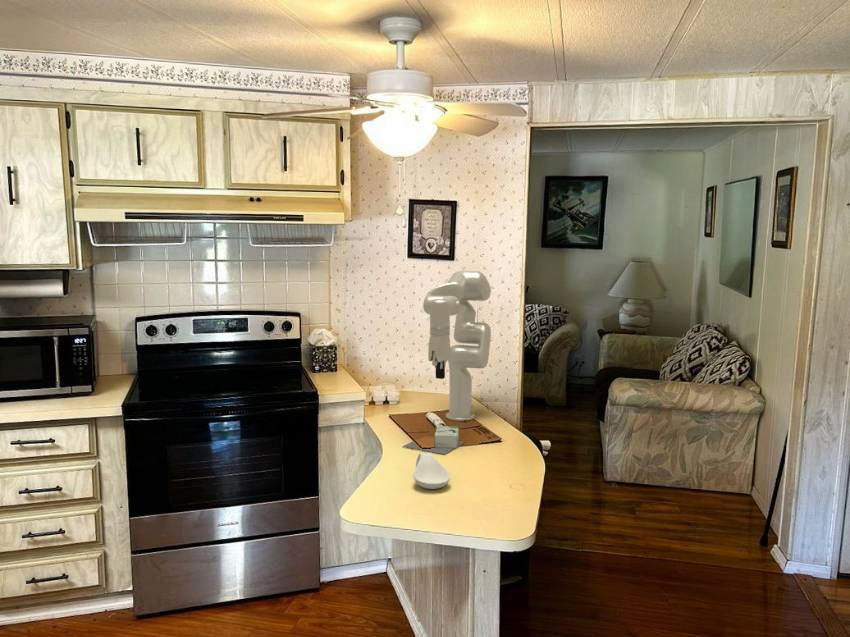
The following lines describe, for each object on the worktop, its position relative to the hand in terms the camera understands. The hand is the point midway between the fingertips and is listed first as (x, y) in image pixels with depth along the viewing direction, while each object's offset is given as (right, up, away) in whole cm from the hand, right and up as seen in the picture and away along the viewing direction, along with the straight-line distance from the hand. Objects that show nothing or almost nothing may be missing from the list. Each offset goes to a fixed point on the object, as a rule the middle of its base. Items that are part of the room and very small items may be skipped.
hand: (440, 378), depth 265 cm
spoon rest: (-5, -30, -39) cm, 50 cm away
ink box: (+3, -21, +3) cm, 21 cm away
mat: (-3, -25, -4) cm, 26 cm away
